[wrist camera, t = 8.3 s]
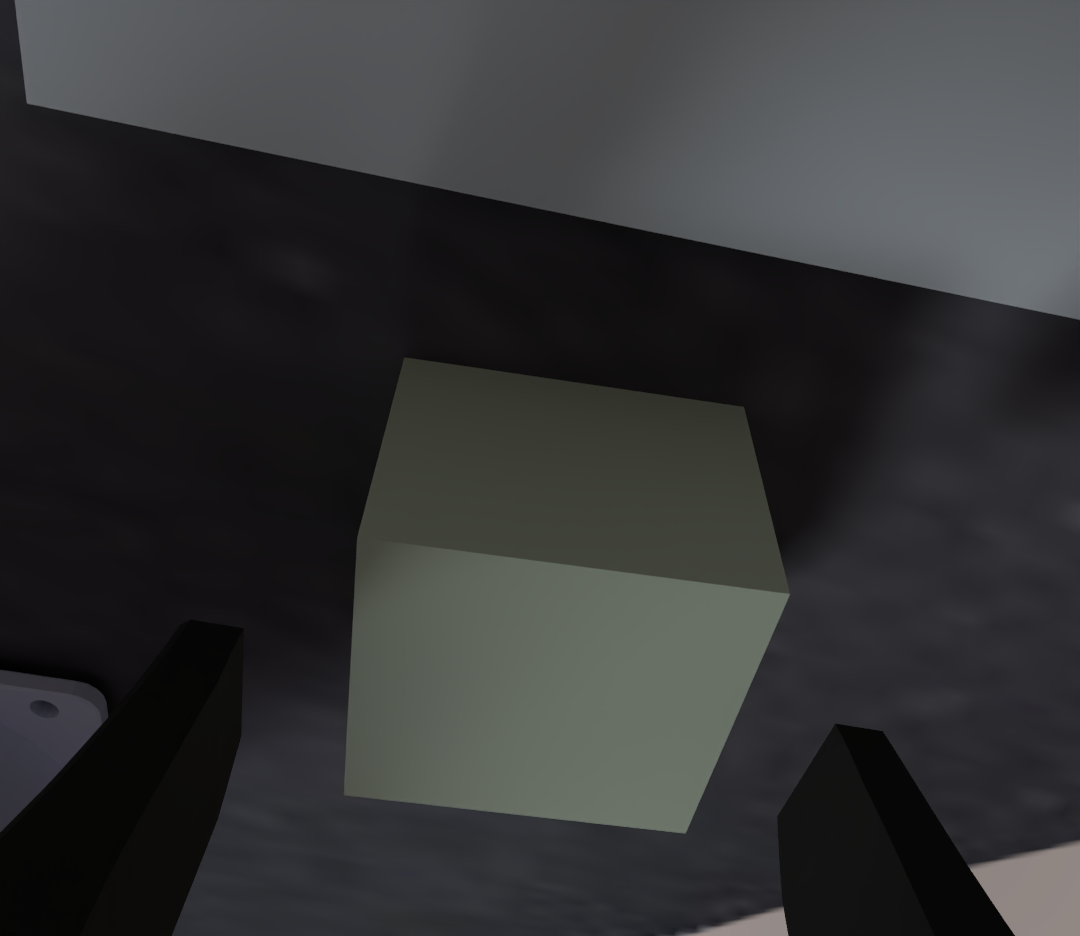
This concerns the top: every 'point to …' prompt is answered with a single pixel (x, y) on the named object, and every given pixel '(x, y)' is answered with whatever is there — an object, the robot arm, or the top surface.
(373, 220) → the top surface
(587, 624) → the sage block
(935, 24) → the baseplate
